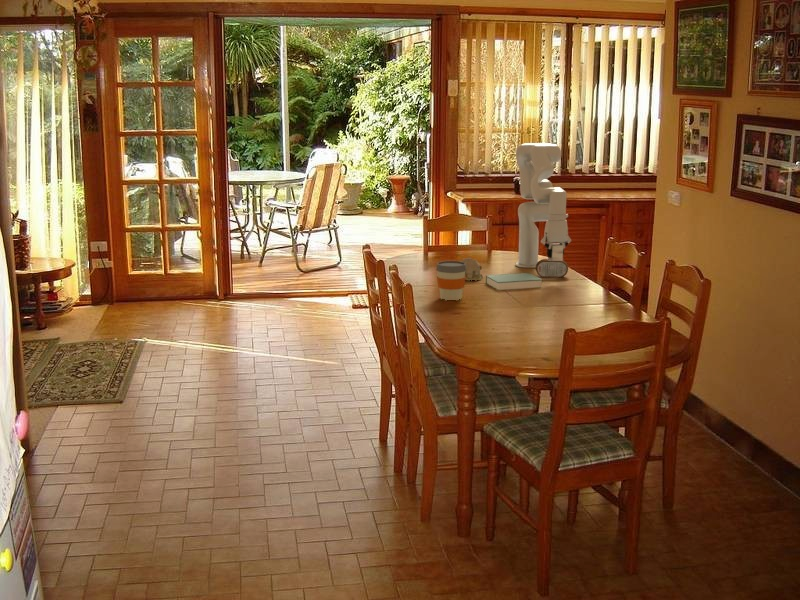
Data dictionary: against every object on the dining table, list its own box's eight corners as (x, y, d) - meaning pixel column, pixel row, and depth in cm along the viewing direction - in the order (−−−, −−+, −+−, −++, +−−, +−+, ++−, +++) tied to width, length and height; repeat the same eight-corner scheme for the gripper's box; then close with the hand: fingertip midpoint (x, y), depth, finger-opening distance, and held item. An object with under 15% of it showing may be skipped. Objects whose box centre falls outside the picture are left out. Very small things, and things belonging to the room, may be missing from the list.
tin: (567, 276, 437) (568, 259, 435) (568, 278, 434) (568, 260, 432) (535, 276, 439) (535, 258, 437) (535, 277, 436) (536, 259, 434)
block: (547, 259, 426) (548, 243, 424) (557, 258, 427) (558, 243, 426) (552, 261, 421) (553, 245, 420) (562, 260, 423) (563, 245, 421)
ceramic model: (487, 277, 436) (487, 256, 434) (477, 282, 427) (477, 260, 424) (459, 274, 443) (460, 254, 441) (449, 279, 433) (449, 257, 431)
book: (485, 283, 424) (485, 275, 423) (528, 281, 429) (528, 272, 428) (497, 291, 409) (497, 282, 409) (541, 288, 415) (542, 279, 414)
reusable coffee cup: (431, 296, 399) (431, 261, 395) (458, 293, 403) (458, 259, 399) (443, 302, 387) (443, 267, 384) (470, 300, 391) (471, 265, 388)
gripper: (570, 215, 425) (568, 254, 430) (536, 216, 421) (534, 256, 425) (578, 217, 418) (576, 257, 423) (543, 219, 414) (541, 259, 418)
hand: (555, 256), depth 424 cm, fingers closed on block, 5 cm apart
